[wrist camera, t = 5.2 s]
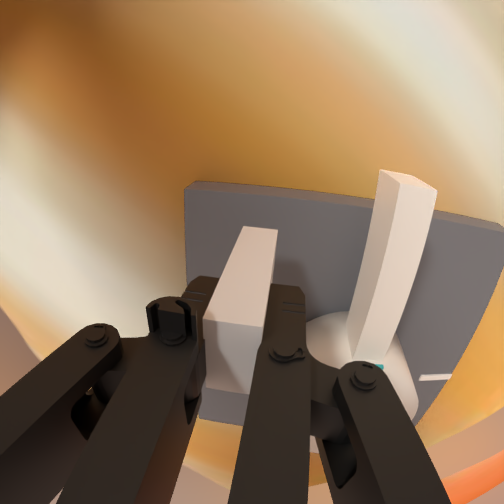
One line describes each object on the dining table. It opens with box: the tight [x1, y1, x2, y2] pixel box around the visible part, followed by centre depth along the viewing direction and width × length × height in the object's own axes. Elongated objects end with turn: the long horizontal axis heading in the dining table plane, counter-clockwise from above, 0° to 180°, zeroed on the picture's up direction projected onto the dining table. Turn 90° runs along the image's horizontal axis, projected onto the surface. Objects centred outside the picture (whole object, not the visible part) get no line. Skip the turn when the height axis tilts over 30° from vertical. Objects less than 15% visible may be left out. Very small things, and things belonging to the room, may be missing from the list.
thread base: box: [184, 181, 504, 427], centre depth 20 cm, size 20×20×2 cm
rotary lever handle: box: [306, 169, 438, 453], centre depth 14 cm, size 16×8×6 cm, turn 177°
